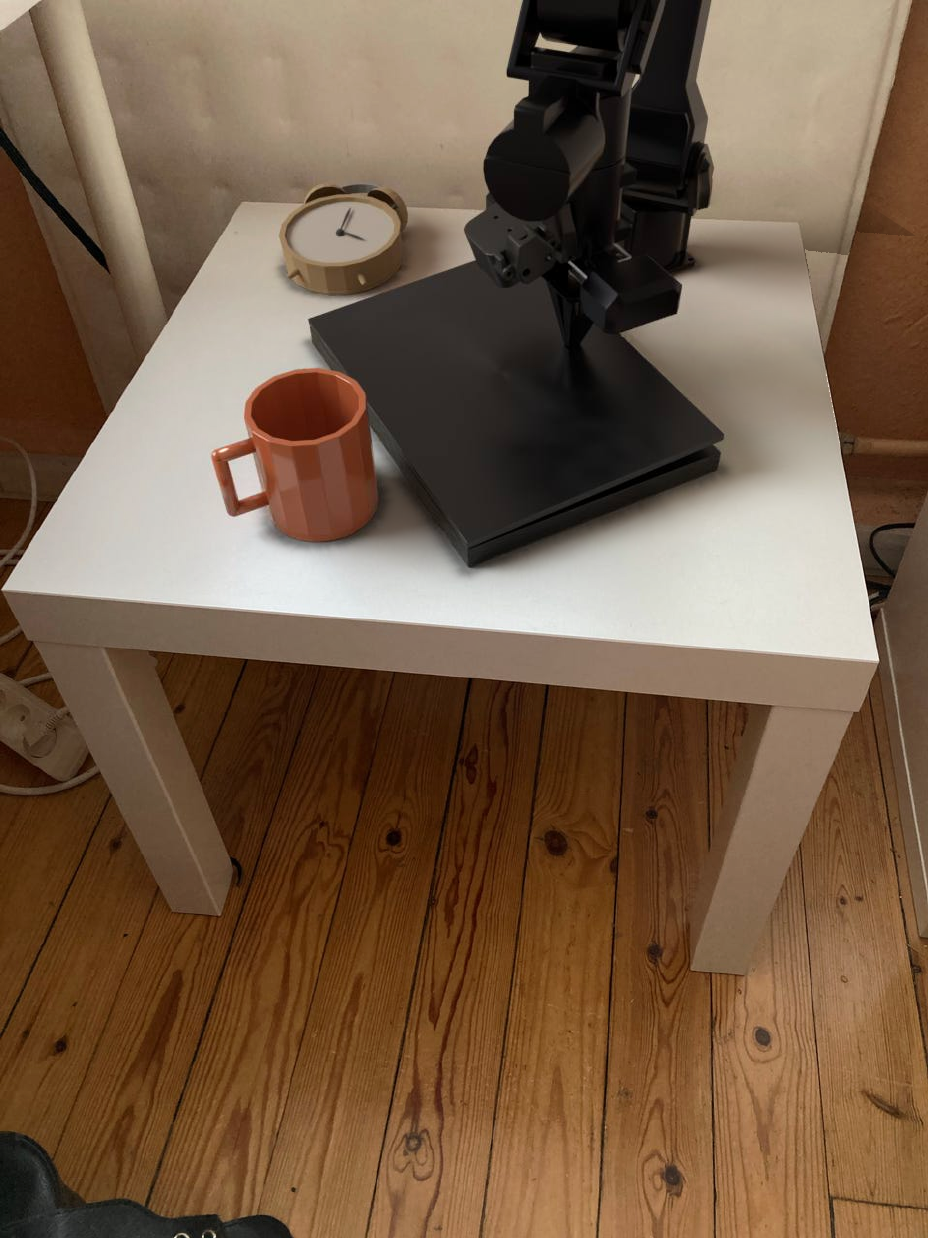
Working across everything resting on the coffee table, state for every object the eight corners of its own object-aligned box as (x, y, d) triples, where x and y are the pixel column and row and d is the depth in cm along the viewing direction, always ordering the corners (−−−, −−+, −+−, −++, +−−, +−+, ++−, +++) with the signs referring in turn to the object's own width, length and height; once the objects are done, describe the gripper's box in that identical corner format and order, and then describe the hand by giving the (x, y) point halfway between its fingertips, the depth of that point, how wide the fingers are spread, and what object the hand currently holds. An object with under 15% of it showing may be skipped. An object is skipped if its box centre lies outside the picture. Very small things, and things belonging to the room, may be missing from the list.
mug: (353, 452, 79) (338, 355, 72) (396, 518, 75) (385, 420, 68) (216, 499, 76) (187, 403, 69) (252, 571, 72) (225, 475, 65)
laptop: (524, 277, 94) (525, 258, 93) (717, 470, 77) (722, 451, 75) (312, 343, 89) (309, 324, 87) (468, 567, 71) (467, 549, 70)
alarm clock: (262, 263, 92) (306, 155, 99) (274, 305, 96) (315, 199, 103) (383, 273, 90) (419, 163, 97) (390, 315, 94) (424, 207, 101)
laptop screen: (524, 249, 92) (524, 242, 92) (723, 441, 75) (725, 433, 74) (309, 325, 87) (307, 318, 87) (467, 550, 70) (467, 543, 69)
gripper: (419, 123, 73) (431, 313, 85) (549, 244, 62) (541, 442, 74) (554, 89, 76) (547, 277, 88) (701, 198, 65) (670, 396, 77)
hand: (571, 344), depth 82 cm, fingers closed, pressing on laptop screen
